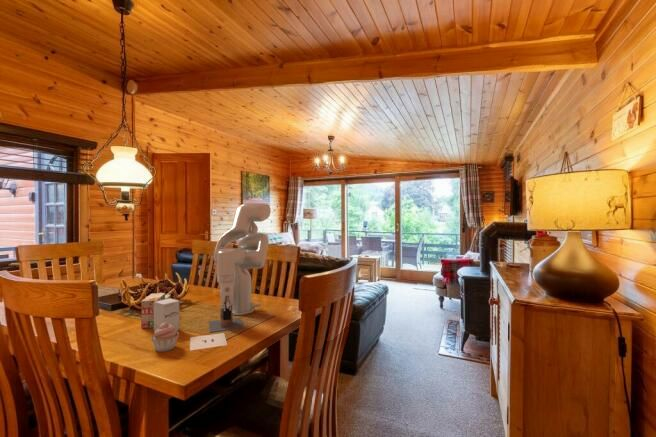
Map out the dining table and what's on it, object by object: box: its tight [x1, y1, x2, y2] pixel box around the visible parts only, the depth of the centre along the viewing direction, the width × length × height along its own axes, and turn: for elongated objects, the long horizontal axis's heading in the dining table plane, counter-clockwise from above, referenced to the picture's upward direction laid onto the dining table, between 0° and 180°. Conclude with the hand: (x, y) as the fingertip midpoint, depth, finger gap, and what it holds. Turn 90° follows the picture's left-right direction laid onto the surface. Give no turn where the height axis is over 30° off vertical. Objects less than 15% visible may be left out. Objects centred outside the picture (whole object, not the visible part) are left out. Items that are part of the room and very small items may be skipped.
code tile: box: [189, 332, 228, 351], centre depth 124 cm, size 13×13×1 cm
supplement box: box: [153, 298, 180, 332], centre depth 135 cm, size 7×7×13 cm
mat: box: [208, 317, 245, 334], centre depth 142 cm, size 14×14×1 cm
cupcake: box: [150, 322, 180, 353], centre depth 117 cm, size 9×9×10 cm
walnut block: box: [219, 304, 234, 327], centre depth 142 cm, size 5×5×8 cm
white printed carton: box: [140, 292, 172, 329], centre depth 148 cm, size 21×6×12 cm, turn 11°
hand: (226, 316), depth 142 cm, fingers open, 9 cm apart
